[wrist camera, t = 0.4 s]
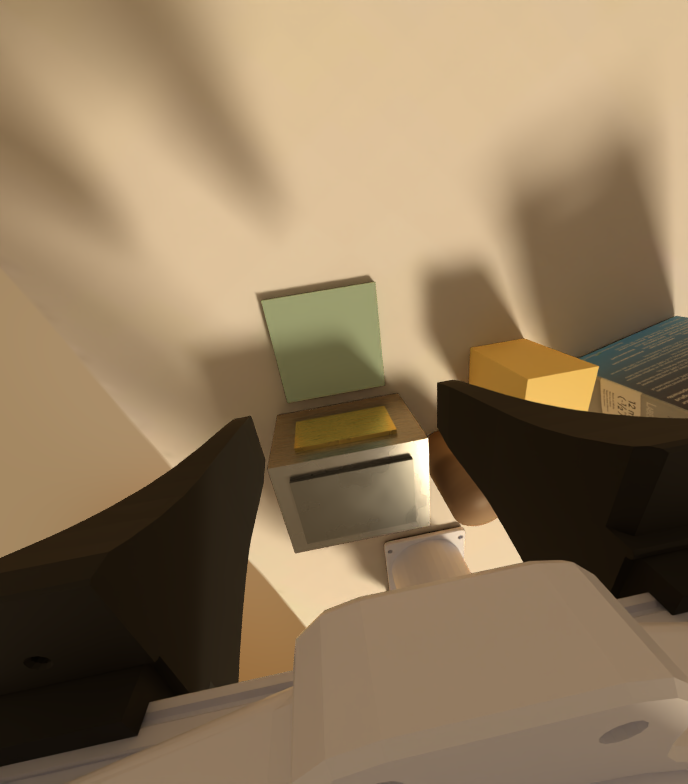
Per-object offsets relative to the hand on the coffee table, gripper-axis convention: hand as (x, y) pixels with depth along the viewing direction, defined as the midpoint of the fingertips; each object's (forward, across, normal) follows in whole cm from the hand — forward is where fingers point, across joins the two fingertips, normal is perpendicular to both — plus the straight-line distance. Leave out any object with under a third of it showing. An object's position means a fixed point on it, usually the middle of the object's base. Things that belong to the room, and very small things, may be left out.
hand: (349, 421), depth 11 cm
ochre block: (+9, -12, +4) cm, 16 cm away
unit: (+9, 0, +8) cm, 12 cm away
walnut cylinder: (+9, -8, +10) cm, 16 cm away
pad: (+9, 0, 0) cm, 9 cm away
